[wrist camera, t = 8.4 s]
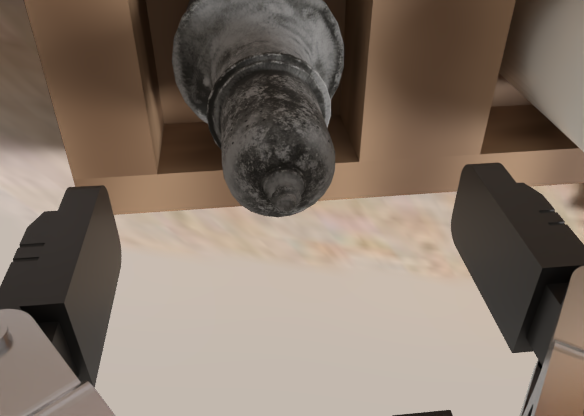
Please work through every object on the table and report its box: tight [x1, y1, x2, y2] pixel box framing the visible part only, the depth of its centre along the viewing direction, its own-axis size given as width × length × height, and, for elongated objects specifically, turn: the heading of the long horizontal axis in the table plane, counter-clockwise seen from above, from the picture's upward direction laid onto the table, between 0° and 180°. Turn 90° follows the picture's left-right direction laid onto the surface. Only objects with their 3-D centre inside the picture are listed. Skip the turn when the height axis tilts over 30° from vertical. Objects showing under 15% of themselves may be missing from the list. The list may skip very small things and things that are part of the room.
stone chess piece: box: [172, 0, 344, 217], centre depth 17 cm, size 6×6×12 cm
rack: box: [24, 0, 584, 215], centre depth 21 cm, size 26×11×5 cm, turn 90°
